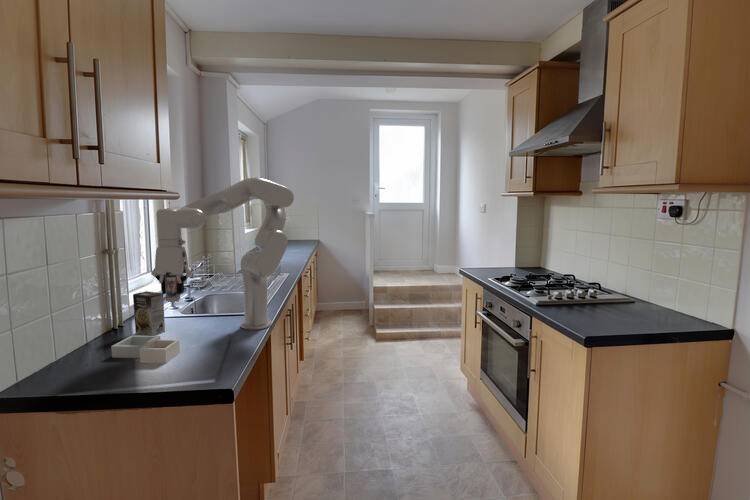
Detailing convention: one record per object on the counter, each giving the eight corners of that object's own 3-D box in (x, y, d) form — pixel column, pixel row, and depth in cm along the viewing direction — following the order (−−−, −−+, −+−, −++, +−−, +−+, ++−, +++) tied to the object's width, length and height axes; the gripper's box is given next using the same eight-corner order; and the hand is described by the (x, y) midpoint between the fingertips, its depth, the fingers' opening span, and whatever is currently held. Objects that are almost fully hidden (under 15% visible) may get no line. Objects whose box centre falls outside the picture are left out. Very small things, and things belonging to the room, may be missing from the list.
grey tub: (132, 347, 139) (131, 335, 139) (160, 348, 139) (160, 335, 138) (112, 359, 129) (111, 346, 128) (143, 360, 129) (142, 346, 128)
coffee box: (134, 334, 153) (131, 294, 151) (148, 329, 159) (146, 290, 157) (152, 336, 150) (149, 296, 148) (166, 331, 157) (163, 292, 154)
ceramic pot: (155, 354, 133) (154, 339, 132) (179, 355, 133) (179, 339, 132) (140, 365, 125) (139, 348, 124) (166, 365, 125) (165, 349, 124)
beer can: (164, 302, 138) (162, 269, 137) (167, 299, 143) (165, 267, 141) (179, 301, 139) (177, 269, 138) (181, 298, 144) (180, 266, 142)
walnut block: (156, 356, 130) (155, 346, 130) (167, 355, 131) (167, 345, 130) (153, 360, 127) (152, 350, 126) (165, 359, 127) (164, 349, 127)
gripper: (198, 242, 142) (201, 291, 144) (152, 242, 142) (155, 290, 145) (188, 244, 135) (191, 296, 137) (140, 244, 135) (143, 295, 137)
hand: (172, 292), depth 141 cm, fingers closed on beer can, 4 cm apart
